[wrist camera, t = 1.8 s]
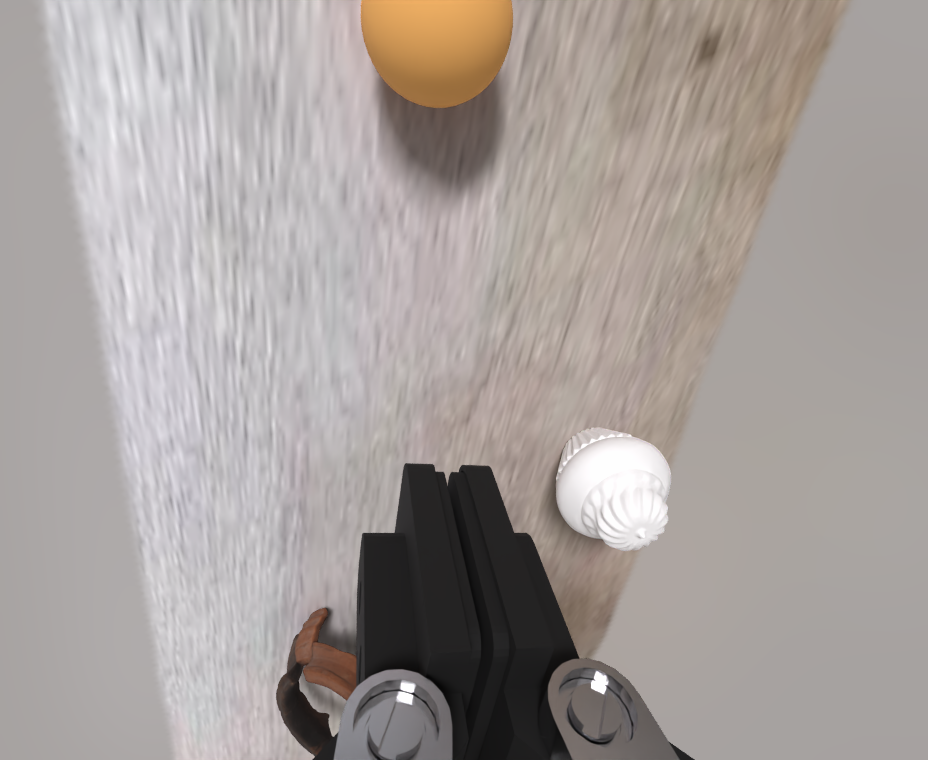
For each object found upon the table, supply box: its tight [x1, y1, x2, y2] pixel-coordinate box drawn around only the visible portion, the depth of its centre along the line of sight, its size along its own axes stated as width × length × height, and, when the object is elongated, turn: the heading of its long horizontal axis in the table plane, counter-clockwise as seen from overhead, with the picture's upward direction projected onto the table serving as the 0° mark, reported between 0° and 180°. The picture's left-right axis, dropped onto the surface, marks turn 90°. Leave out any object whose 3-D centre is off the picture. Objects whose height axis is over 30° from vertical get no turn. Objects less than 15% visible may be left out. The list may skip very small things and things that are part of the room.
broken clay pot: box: [276, 608, 356, 756], centre depth 33 cm, size 12×9×8 cm
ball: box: [361, 0, 513, 108], centre depth 17 cm, size 5×5×5 cm
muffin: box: [556, 427, 671, 551], centre depth 27 cm, size 6×6×7 cm
